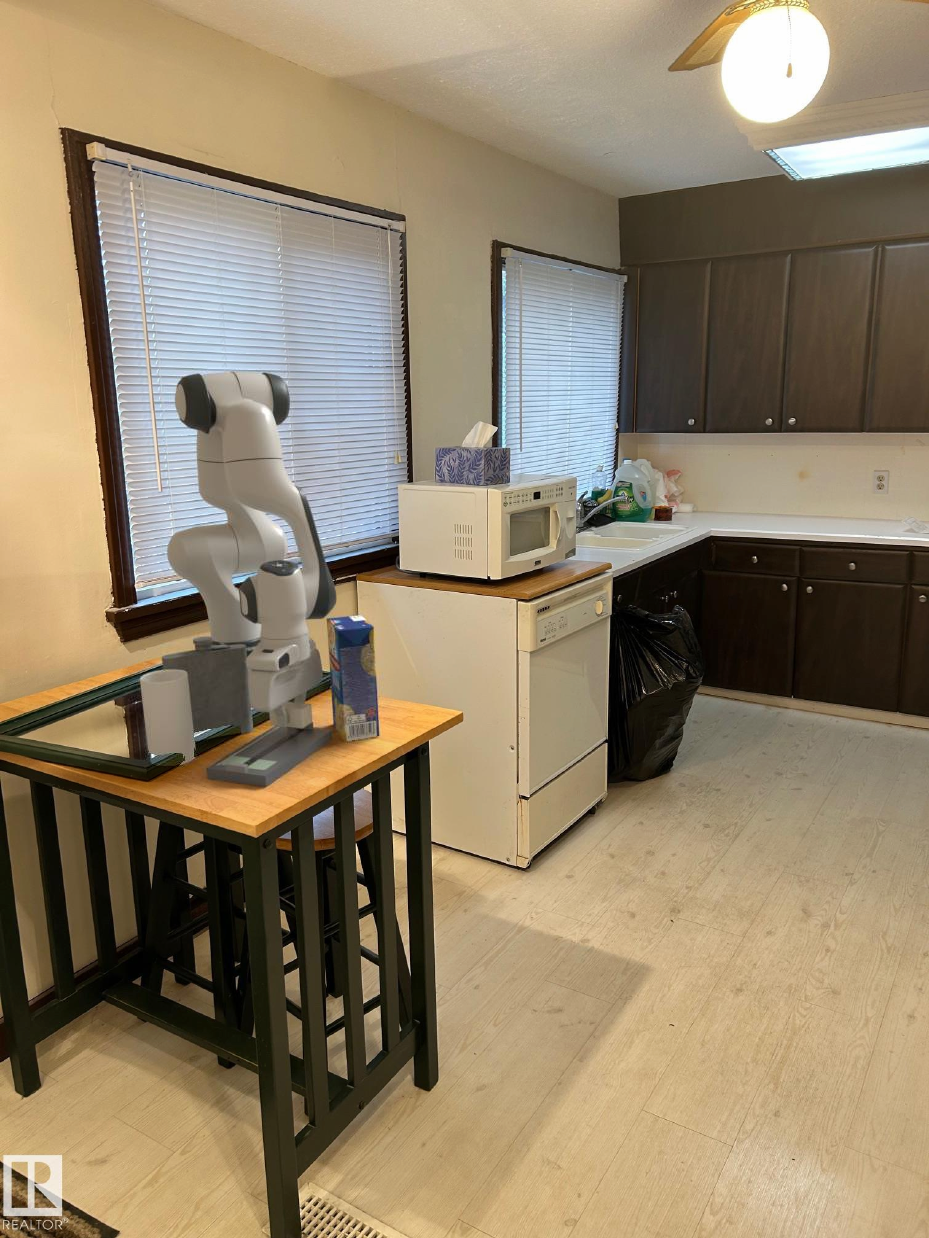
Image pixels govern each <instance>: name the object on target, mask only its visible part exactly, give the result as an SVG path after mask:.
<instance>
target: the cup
mask: <svg viewBox="0 0 929 1238" xmlns="http://www.w3.org/2000/svg"><path fill="white" fill-rule="evenodd" d="M139 683H140V690H141V691H140V693H141V700H142V708H143V716H144V726H145V734H146V742H147V751H149V752H148V754H149V753H151V754H154V755H164V754H169V753H182V754H183V758H184V756H185V761H183V762H182V763H181V764H180V765H179V766H182V765H185V764H188V763H190V762H193V760H195V759H196V757H194V748H195V749H196V742H195V740H194V730H193V721H192V711H191V702H190V692H189V683H188V674H187V672H186V671H183V670H177V669H169V670H163V669H161V670H154V671H151V672H148V673H146V674H145V673H144V674H143V675H141V676H140V677H139Z"/></svg>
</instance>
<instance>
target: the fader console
mask: <svg viewBox="0 0 929 1238" xmlns="http://www.w3.org/2000/svg"><path fill="white" fill-rule="evenodd" d="M332 730H333V729H326V728H317V727H314V722H313V721H312V723H310V724H309V725H307V726H306V727H304V728H297V732H296V733H294V734H288V733H287V727H286V726H277V725H273V727H270V728H269V729H267V730H266V731H264V732H263V733H261V734H259V735H258V736H255V737H254V738H253V739H251V740H249V741H248V742H246V743H244V744H243V745H241V746H240V747H238V748H236V749H235V750H233V751H232V752H230V753H228V754H227V755H225V756H224V757H222V758H220V759H219V760H217V761H215V762H214V763H212V764H210V765H208V766H207V767H206V768H205V769H206V770H205V771H206V779H208V780H212V781H213V780H214V781H221V782H228V783H236V784H242V785H249V786H255V787H256V786H257V787H261V788H262V787H263V788H266V787H269V785H272V784H273V783H274V782H276V781H277V780H278V779H280V778H281V777H282V776H285V774H287V773H288V772H289V771H291V770H292V769H294V768H295V767H296V766H298V765H299V764H301V763H302V762H303V761H305V760H306V759H308V758H310V756H312V755H313V754H315V753H316V752H317V751H319V750H320V749H322V748H323V747H324V746H326V745H327V744H328V743H330V742H332V741H333V731H332Z"/></svg>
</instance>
